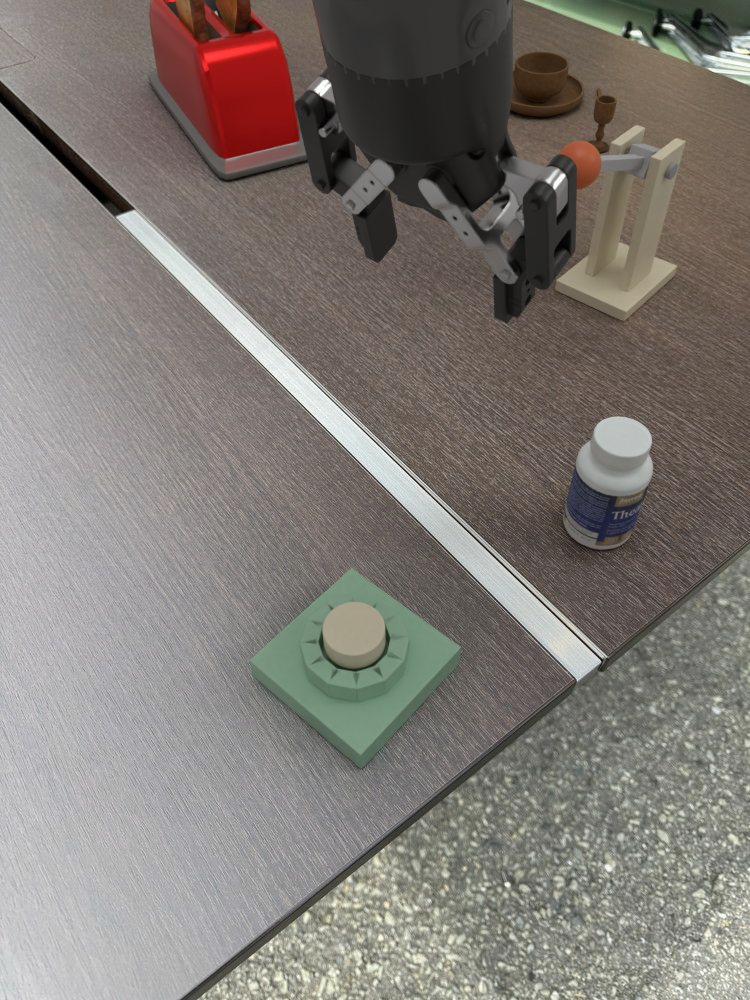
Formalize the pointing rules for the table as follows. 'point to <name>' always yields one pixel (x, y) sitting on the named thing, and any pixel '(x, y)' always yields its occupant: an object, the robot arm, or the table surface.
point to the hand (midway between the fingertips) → (444, 278)
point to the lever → (607, 161)
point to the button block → (356, 671)
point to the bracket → (631, 269)
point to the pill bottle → (609, 483)
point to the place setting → (555, 91)
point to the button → (354, 635)
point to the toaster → (226, 84)
